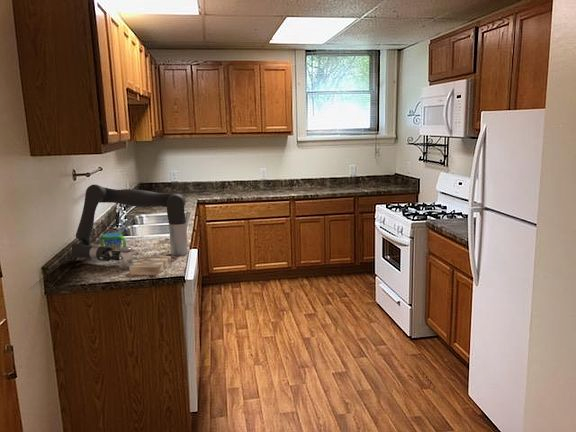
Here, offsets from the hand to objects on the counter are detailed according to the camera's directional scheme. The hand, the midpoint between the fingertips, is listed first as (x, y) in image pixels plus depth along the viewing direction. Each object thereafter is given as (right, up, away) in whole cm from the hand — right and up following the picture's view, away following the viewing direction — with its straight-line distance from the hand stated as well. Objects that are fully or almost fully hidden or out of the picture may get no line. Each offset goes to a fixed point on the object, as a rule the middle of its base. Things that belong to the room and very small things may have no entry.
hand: (125, 256), depth 229 cm
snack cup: (-18, -1, +32) cm, 36 cm away
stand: (+14, -6, -2) cm, 15 cm away
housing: (+1, -6, +1) cm, 6 cm away
